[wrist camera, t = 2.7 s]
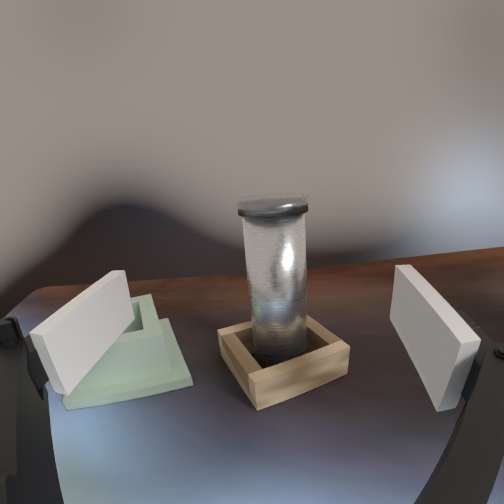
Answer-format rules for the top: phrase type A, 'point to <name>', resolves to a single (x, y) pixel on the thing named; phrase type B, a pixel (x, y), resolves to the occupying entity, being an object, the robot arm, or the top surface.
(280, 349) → the silver capped cylinder
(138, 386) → the socket
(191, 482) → the top surface
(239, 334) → the mount
